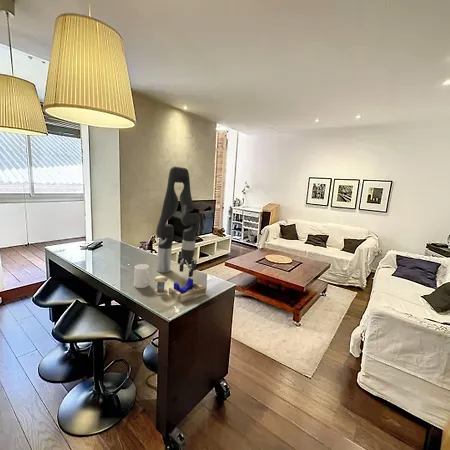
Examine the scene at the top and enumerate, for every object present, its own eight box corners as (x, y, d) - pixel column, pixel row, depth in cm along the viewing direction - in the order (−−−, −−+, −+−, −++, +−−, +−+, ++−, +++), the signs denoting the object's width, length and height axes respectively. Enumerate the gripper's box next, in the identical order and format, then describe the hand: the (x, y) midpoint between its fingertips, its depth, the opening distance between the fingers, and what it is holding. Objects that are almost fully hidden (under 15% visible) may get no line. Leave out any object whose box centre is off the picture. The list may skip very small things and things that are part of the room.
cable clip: (177, 295, 142) (178, 285, 141) (173, 292, 145) (173, 282, 144) (194, 289, 151) (194, 280, 150) (189, 287, 154) (190, 277, 152)
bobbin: (151, 291, 145) (152, 277, 143) (162, 288, 150) (163, 275, 149) (158, 296, 140) (159, 281, 139) (169, 292, 146) (169, 279, 144)
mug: (154, 287, 151) (155, 268, 148) (141, 291, 144) (142, 271, 142) (143, 280, 158) (143, 262, 155) (130, 284, 151) (131, 265, 149)
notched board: (168, 294, 143) (168, 288, 143) (192, 286, 157) (193, 280, 156) (181, 303, 136) (181, 296, 135) (205, 294, 149) (206, 287, 148)
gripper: (175, 244, 144) (173, 271, 148) (191, 252, 135) (188, 280, 138) (185, 243, 150) (183, 268, 153) (201, 250, 141) (198, 277, 144)
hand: (185, 274), depth 146 cm, fingers open, 8 cm apart
